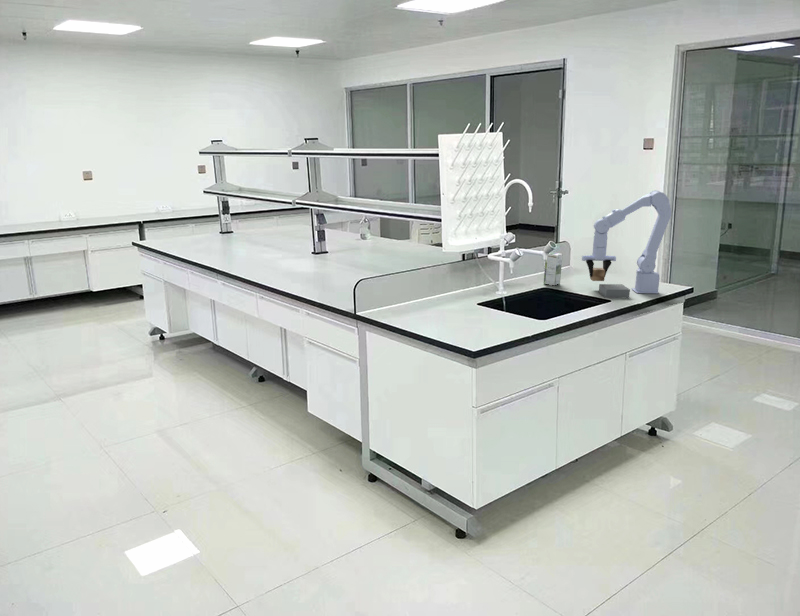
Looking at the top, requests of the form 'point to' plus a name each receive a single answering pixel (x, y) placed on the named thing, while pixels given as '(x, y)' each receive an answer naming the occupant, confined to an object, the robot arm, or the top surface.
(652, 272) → the robot arm
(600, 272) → the walnut cube
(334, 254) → the top surface
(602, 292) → the charcoal base block
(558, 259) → the syrup box
